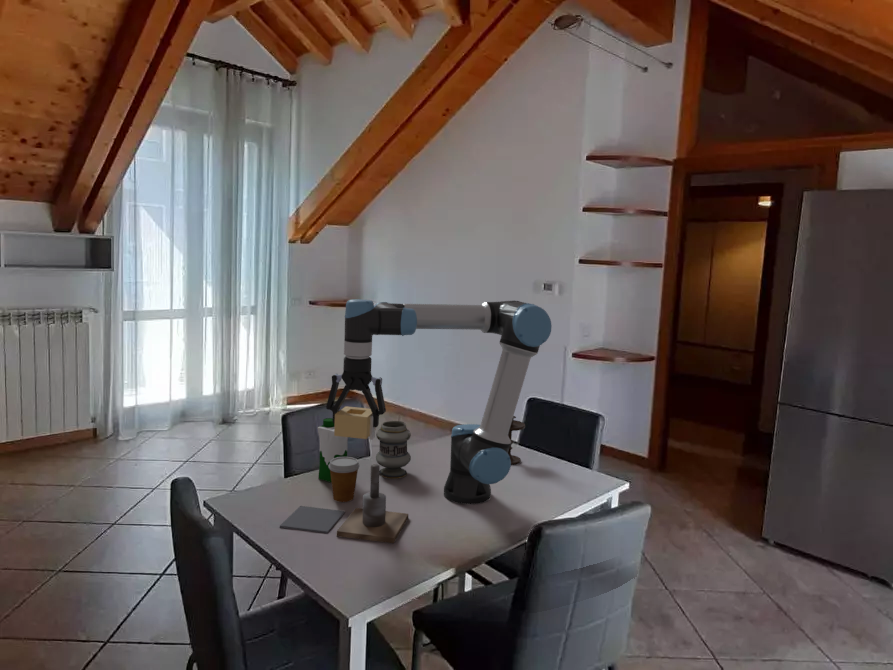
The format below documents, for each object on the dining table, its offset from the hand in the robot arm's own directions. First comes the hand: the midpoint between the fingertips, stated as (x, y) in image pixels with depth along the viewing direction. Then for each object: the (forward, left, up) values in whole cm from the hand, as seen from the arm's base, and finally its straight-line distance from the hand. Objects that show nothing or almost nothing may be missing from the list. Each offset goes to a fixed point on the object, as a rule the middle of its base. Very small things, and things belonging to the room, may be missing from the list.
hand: (355, 436), depth 176 cm
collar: (0, 0, +1) cm, 1 cm away
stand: (-6, 0, -26) cm, 27 cm away
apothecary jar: (0, -42, -26) cm, 50 cm away
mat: (+12, 0, -26) cm, 29 cm away
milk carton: (+18, -32, -26) cm, 45 cm away
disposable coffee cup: (+9, -17, -26) cm, 33 cm away
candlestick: (-38, -67, -26) cm, 82 cm away
